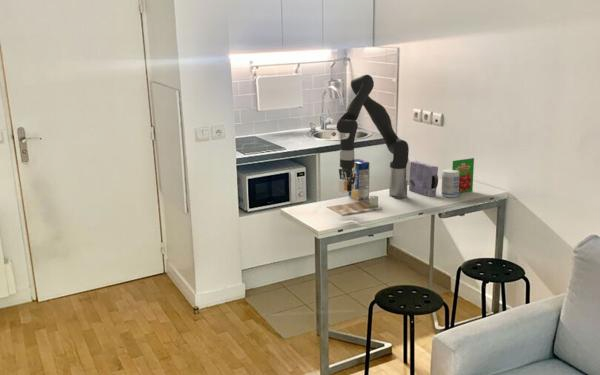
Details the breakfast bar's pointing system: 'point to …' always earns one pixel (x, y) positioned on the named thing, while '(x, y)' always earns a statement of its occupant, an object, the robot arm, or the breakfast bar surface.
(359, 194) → the beverage box
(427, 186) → the cake pan box
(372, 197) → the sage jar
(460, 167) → the tomato puree packet
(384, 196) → the breakfast bar surface
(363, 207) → the board
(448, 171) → the supplement tub
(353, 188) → the cream block
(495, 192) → the breakfast bar surface
